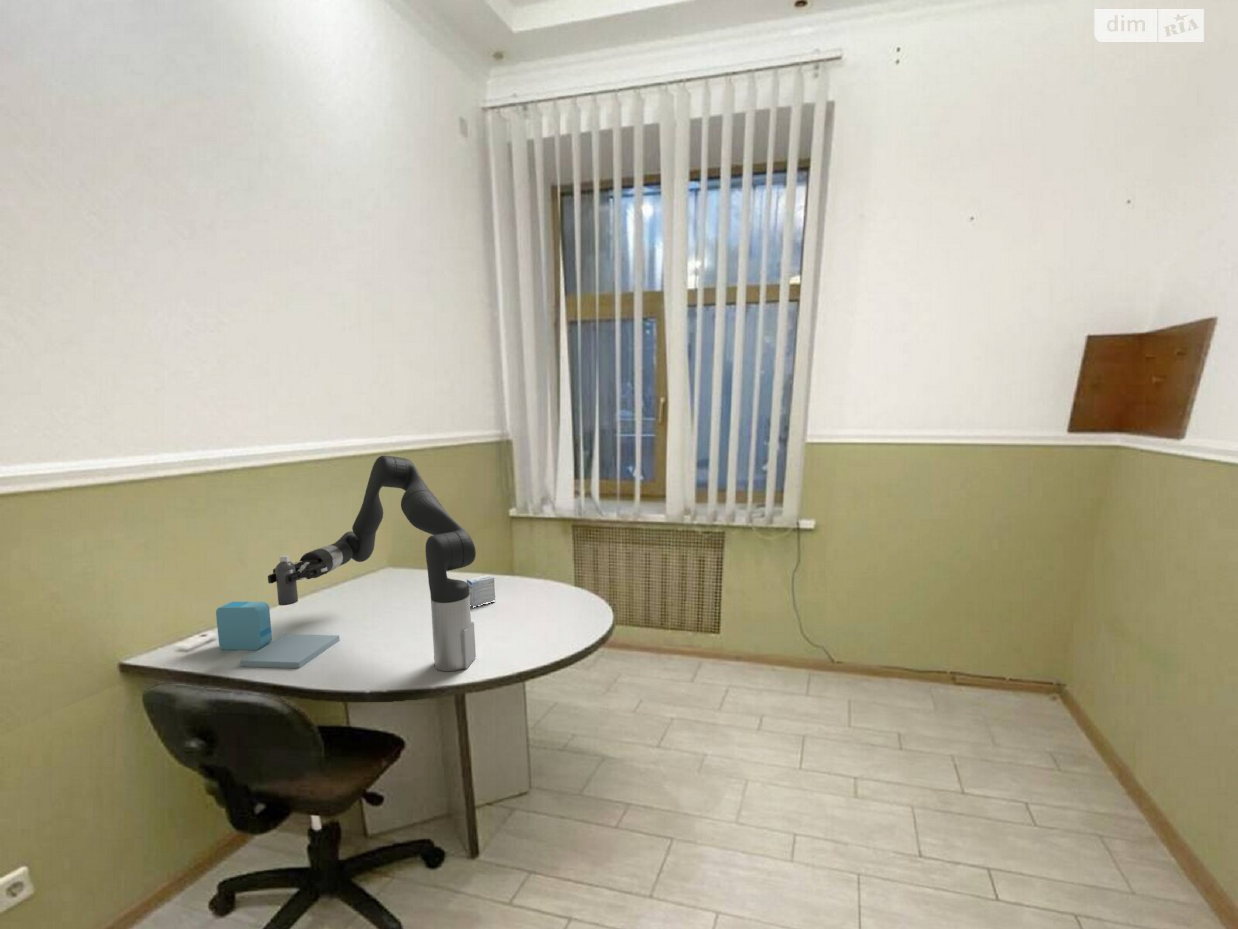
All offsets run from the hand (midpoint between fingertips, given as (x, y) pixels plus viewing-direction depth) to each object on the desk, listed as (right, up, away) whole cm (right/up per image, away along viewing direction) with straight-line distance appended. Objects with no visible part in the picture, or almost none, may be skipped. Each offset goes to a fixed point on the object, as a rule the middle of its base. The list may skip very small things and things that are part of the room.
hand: (278, 579), depth 136 cm
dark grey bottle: (0, -7, +3) cm, 8 cm away
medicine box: (+42, -17, +38) cm, 60 cm away
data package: (-15, -21, +9) cm, 27 cm away
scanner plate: (+1, -21, +5) cm, 21 cm away
